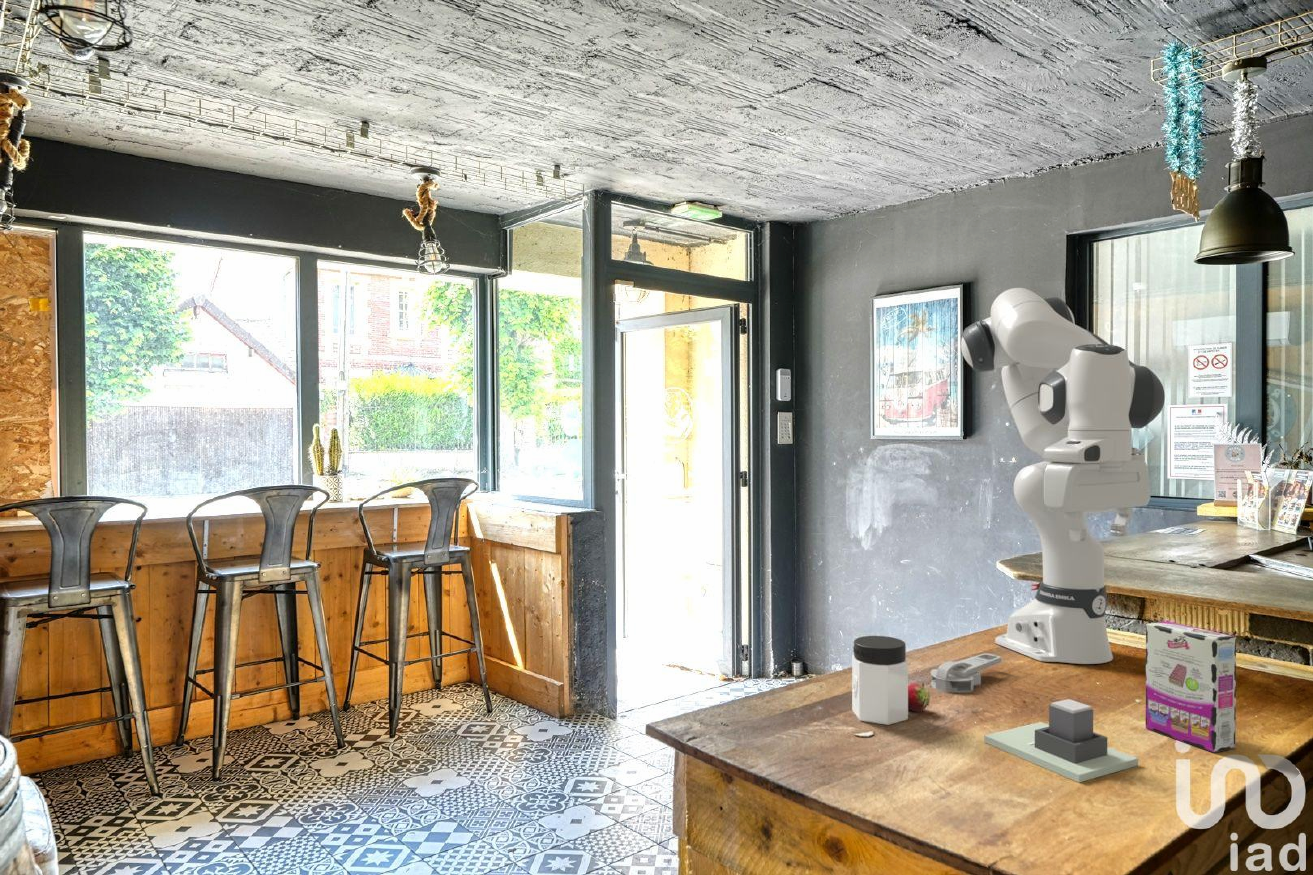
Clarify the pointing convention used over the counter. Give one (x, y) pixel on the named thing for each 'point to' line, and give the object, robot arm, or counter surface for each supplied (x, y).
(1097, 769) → the header board
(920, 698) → the fruit
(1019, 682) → the counter surface
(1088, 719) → the plug
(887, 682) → the jar
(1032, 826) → the counter surface
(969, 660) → the zipper pull
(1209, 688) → the candy bar box
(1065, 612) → the robot arm
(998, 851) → the counter surface
